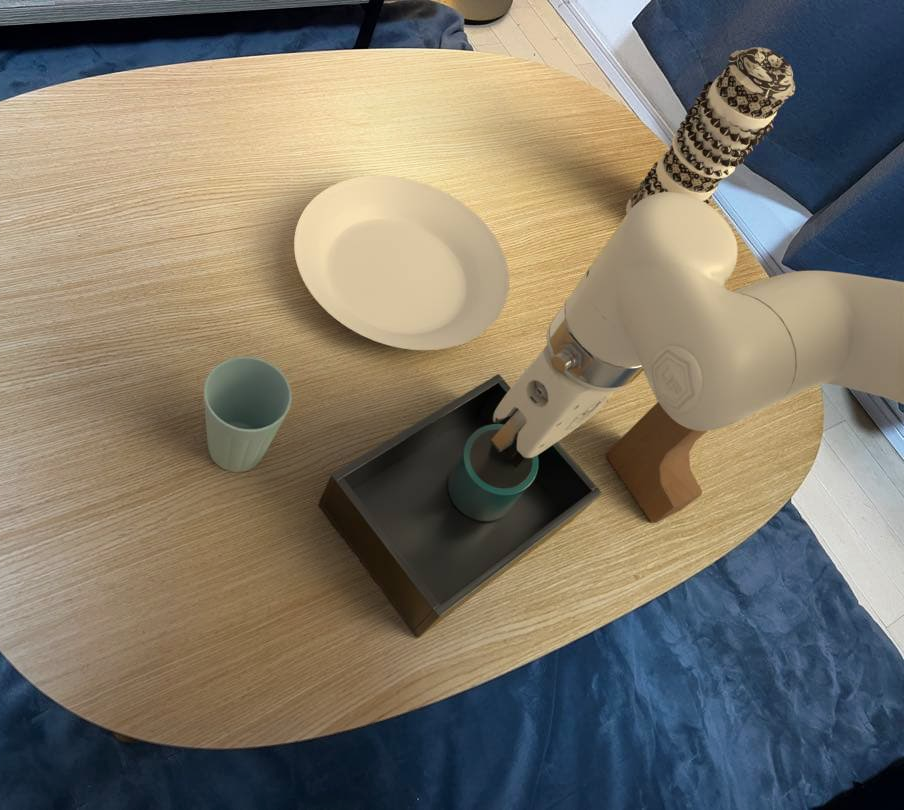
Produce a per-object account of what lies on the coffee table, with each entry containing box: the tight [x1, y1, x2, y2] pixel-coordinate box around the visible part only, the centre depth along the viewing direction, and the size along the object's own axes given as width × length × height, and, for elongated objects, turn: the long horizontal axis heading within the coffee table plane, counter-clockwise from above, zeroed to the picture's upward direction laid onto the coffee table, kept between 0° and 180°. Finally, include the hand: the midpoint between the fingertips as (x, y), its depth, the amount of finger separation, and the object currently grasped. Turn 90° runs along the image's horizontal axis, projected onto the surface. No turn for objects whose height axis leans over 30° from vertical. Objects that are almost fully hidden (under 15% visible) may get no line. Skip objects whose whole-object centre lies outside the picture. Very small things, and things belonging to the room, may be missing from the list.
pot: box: [448, 424, 538, 521], centre depth 81 cm, size 7×7×8 cm
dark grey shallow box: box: [317, 373, 603, 639], centre depth 81 cm, size 16×22×7 cm
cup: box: [202, 355, 293, 473], centre depth 78 cm, size 8×8×10 cm
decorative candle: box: [625, 46, 796, 215], centre depth 103 cm, size 9×9×25 cm
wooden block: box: [605, 401, 708, 524], centre depth 84 cm, size 9×4×18 cm, turn 28°
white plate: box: [293, 175, 510, 351], centre depth 97 cm, size 25×25×4 cm
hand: (510, 451), depth 78 cm, fingers closed
